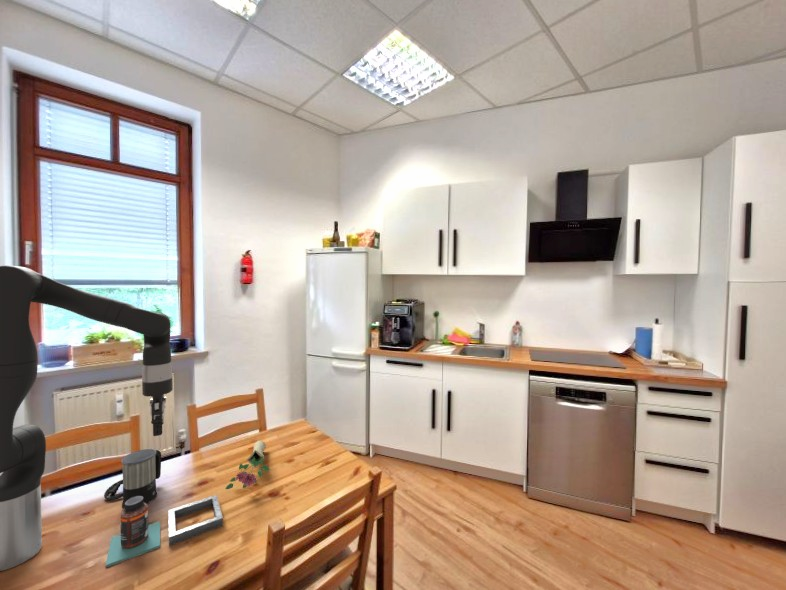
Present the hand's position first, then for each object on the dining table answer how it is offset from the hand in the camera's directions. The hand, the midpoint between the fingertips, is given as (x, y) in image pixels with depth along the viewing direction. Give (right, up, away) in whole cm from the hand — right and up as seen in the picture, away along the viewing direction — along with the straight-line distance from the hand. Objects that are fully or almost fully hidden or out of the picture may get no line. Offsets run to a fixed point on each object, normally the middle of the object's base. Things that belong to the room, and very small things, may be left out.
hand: (158, 430), depth 100 cm
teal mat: (+2, -26, -11) cm, 29 cm away
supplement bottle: (+2, -26, -11) cm, 28 cm away
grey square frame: (+13, -26, -3) cm, 30 cm away
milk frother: (-15, -26, +8) cm, 31 cm away
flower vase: (+20, -26, +22) cm, 40 cm away
